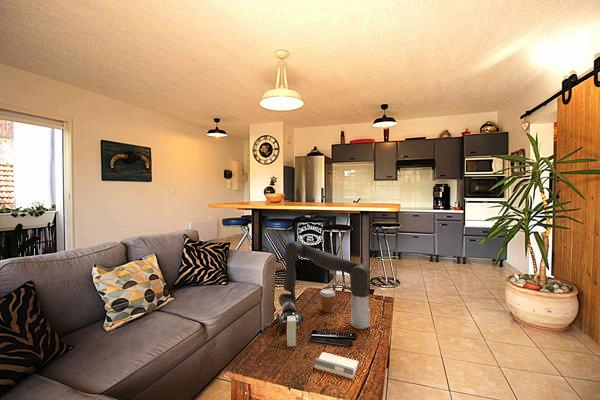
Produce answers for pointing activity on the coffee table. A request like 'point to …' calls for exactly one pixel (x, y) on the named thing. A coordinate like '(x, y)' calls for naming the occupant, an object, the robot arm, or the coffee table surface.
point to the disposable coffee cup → (327, 299)
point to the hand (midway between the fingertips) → (290, 324)
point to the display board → (336, 364)
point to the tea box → (291, 331)
